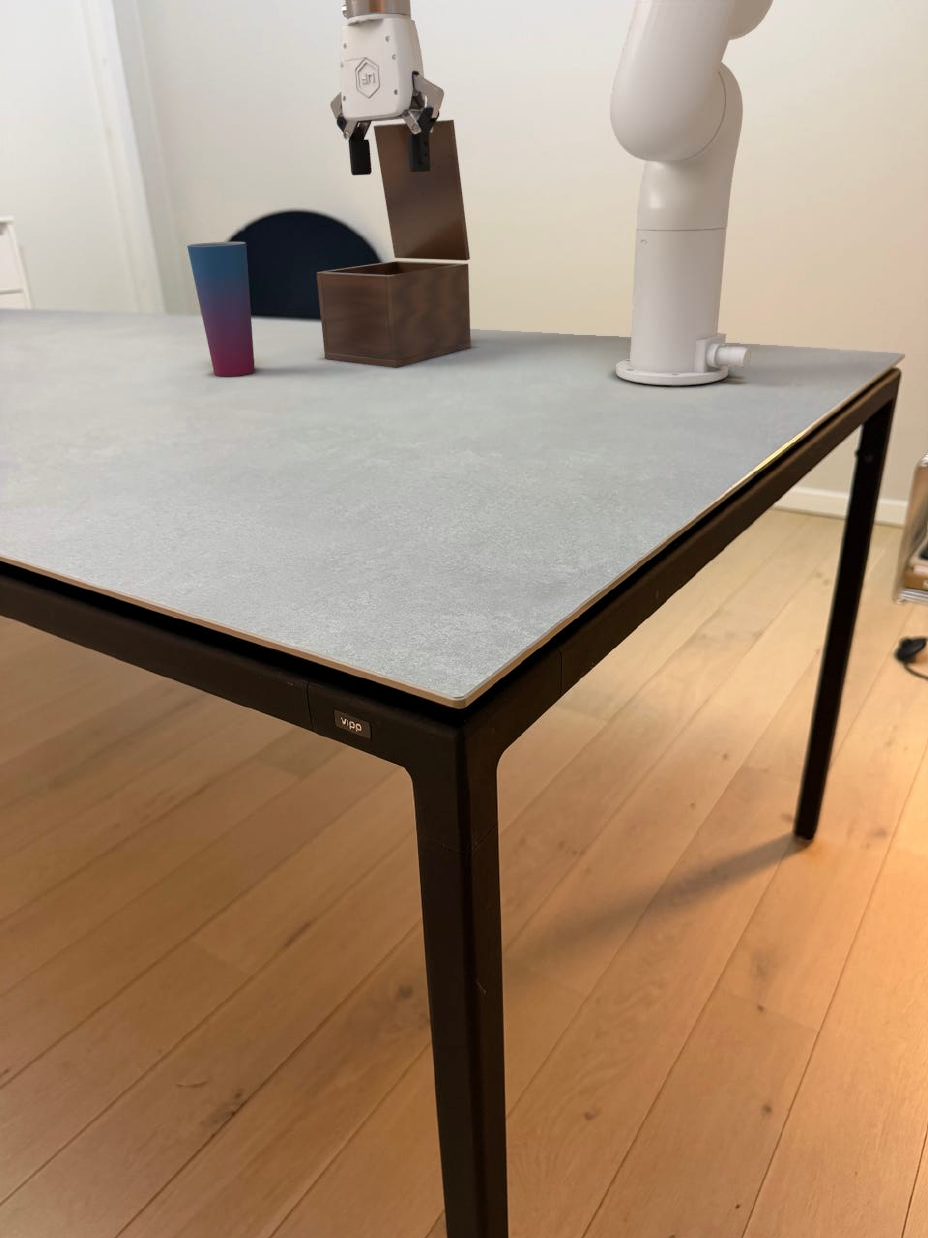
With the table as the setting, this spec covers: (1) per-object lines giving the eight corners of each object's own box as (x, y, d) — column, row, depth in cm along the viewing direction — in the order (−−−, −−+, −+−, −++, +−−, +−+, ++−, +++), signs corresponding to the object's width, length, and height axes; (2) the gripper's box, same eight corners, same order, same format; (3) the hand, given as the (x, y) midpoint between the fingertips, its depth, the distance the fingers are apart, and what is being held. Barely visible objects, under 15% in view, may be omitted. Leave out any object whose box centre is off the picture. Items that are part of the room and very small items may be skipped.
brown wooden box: (396, 367, 115) (390, 275, 110) (324, 358, 122) (316, 272, 117) (470, 347, 126) (468, 263, 121) (401, 340, 133) (396, 260, 128)
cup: (196, 377, 113) (176, 246, 107) (222, 366, 119) (204, 241, 113) (247, 378, 112) (229, 245, 105) (271, 367, 118) (255, 241, 111)
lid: (449, 120, 112) (473, 113, 115) (373, 125, 119) (397, 119, 122) (466, 260, 121) (488, 250, 124) (394, 257, 128) (416, 248, 131)
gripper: (303, 16, 109) (319, 176, 116) (414, -6, 99) (424, 170, 107) (347, 22, 114) (360, 175, 122) (456, 2, 105) (463, 169, 112)
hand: (390, 173), depth 114 cm, fingers open, 9 cm apart
